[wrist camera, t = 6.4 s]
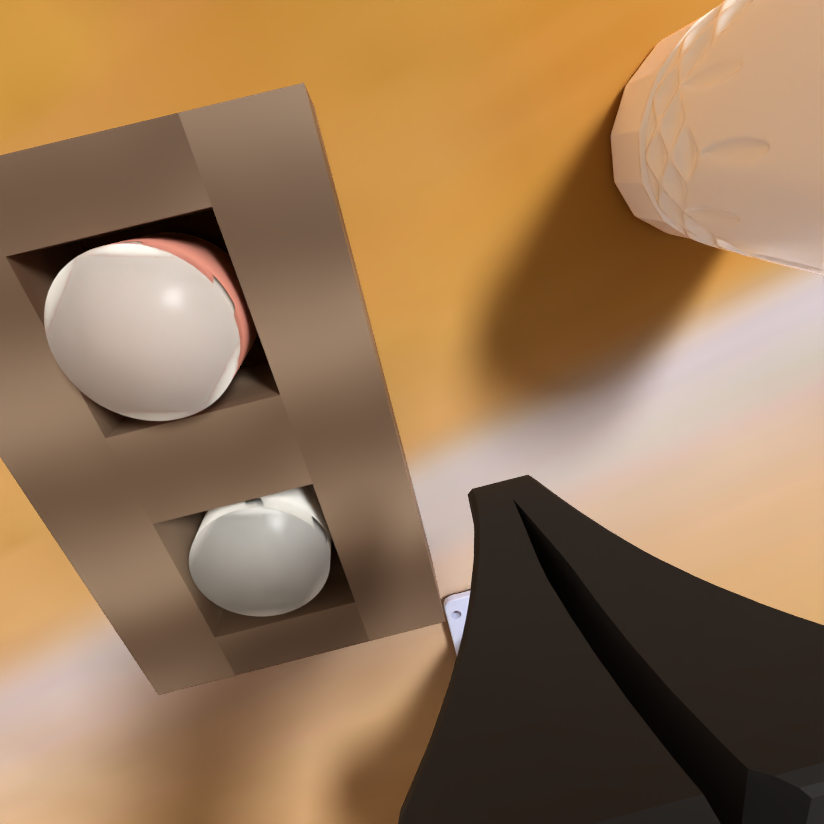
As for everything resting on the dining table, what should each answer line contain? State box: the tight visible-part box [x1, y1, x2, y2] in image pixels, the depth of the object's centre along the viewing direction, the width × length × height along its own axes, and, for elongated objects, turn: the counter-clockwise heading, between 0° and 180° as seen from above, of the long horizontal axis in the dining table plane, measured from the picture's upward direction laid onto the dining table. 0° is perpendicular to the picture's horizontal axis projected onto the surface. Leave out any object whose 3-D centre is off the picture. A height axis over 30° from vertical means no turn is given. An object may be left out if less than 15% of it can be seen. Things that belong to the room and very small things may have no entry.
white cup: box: [611, 0, 824, 275], centre depth 13 cm, size 8×8×10 cm
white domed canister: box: [189, 484, 331, 616], centre depth 20 cm, size 5×5×4 cm
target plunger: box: [44, 232, 257, 421], centre depth 15 cm, size 5×5×4 cm
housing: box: [0, 83, 446, 695], centre depth 18 cm, size 19×12×4 cm, turn 12°
